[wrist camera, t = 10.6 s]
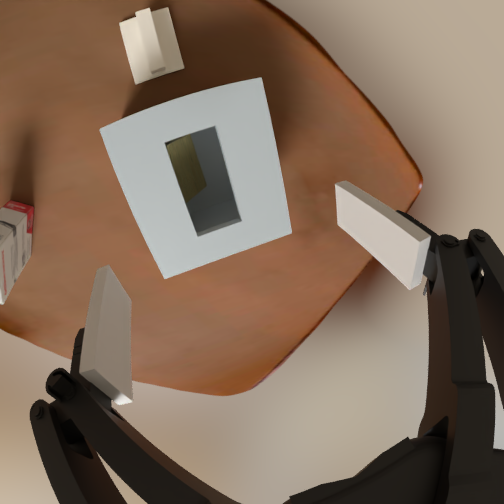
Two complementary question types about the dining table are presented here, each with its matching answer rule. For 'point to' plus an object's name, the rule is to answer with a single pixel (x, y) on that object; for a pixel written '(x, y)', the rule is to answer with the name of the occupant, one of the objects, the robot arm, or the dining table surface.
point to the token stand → (151, 44)
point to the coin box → (214, 170)
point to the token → (186, 166)
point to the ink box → (14, 243)
